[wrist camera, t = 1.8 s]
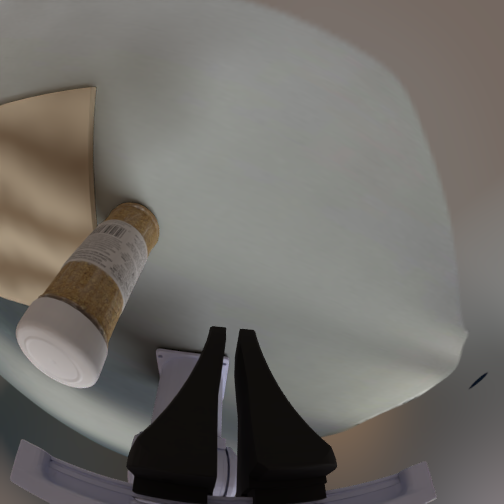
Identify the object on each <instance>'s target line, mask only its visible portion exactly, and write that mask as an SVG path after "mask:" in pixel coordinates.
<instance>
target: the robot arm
mask: <svg viewBox="0 0 504 504" xmlns="http://www.w3.org/2000/svg"><path fill="white" fill-rule="evenodd" d="M225 343H226V328H225V327H215V326H212V327H210V330H209V335H208V338H207V341H206V343H205V346H204V348H203V351H202V353H201V354H197V353H189V352H181V351H174V350H167V349H160V348H159V349H157V350H156V358H157V364H158V369H159V375H160V380H159V385H158V389H157V394H156V399H155V404H154V410H153V415H152V420H151V425H149V427H147V428H146V429H145V430H144V431H143V432H140V433H139V434H137V435H135V436H134V439H133V442H132V446H131V450H130V452H129V455H128V461H127V469H128V481H129V483H128V482H124V481H120V480H116V479H113V478H109V477H106V476H103V475H99V474H97V473H93V472H90V471H88V470H85V469H82V468H79V467H77V466H74V465H71V464H69V463H66V462H64V461H62V460H59V459H57V458H55V457H53V456H51V455H50V454H49V453H48V452H46V451H45V450H43V449H41V448H39V447H37V446H35V445H33V444H31V443H29V442H27V441H26V440H24V439H22V440H21V442H20V445H19V448H18V452H17V455H16V458H15V462H14V465H13V469H12V473H11V477H10V480H11V481H12V482H13V483H15V484H17V485H18V486H20V487H22V488H23V489H25V490H27V491H28V492H30V493H32V494H34V495H35V496H37V497H39V498H41V499H43V500H45V501H47V502H48V503H50V504H427V503H429V502H431V501H433V500H435V499H436V498H437V496H436V492H435V489H434V485H433V481H432V478H431V475H430V471H429V468H428V465H427V462H426V461H424V462H421V463H419V464H416V465H413V466H410V467H408V468H406V469H404V470H402V471H400V472H399V473H398V474H394V475H391V476H388V477H385V478H381V479H377V480H374V481H370V482H366V483H362V484H358V485H353V486H349V487H344V488H339V489H333V490H328V491H326V490H325V483H326V482H327V480H326V475H328V474H329V473H331V472H332V471H333V470H335V469H336V467H337V463H336V458H335V456H334V453H333V450H332V448H331V446H330V445H328V444H327V443H326V442H325V441H324V440H323V439H322V438H321V437H320V436H319V435H317V434H316V433H315V432H314V431H313V430H312V429H311V428H310V427H309V425H308V424H307V423H306V422H305V421H304V420H303V419H302V417H301V416H300V415H299V414H298V413H297V412H296V410H295V409H294V408H293V406H292V405H291V404H290V402H289V401H288V400H287V398H286V397H285V395H284V394H283V392H282V391H281V389H280V387H279V386H278V384H277V382H276V380H275V379H274V377H273V375H272V373H271V371H270V369H269V367H268V365H267V363H266V361H265V358H264V356H263V354H262V351H261V349H260V346H259V343H258V340H257V337H256V333H255V331H254V330H248V329H240V331H239V337H238V342H237V348H236V354H235V371H234V378H235V391H236V403H237V414H238V449H237V455H236V454H235V452H234V451H233V450H232V448H230V447H226V439H225V438H221V425H222V400H223V398H224V392H225V385H226V378H227V372H228V365H229V358H228V357H226V356H224V350H225ZM235 494H236V497H234V496H235Z"/></svg>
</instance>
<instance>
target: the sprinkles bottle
mask: <svg viewBox="0 0 504 504" xmlns="http://www.w3.org/2000/svg"><path fill="white" fill-rule="evenodd" d="M158 237H159V225H158V222H157V219H156V218H155V216H154V215H153V214H152V213H151V211H150V210H149V209H147V208H146V207H144V206H143V205H140V204H137V203H131V202H128V203H123V204H120V205H118V206H117V207H116V208H114V209H113V210H112V211H111V213H110V215H109V216H108V217H107V218H106V220H105V221H104V222H102V223H101V224H99V225H98V226H97V227H96V228H95V229H94V230H93V231H92V233H91V234H90V235H89V236H88V237H87V238H86V239H85V240H84V241H83V242H82V243H81V245H80V246H79V247H78V248H77V249H76V250H75V251H74V253H73V254H72V255H71V256H70V257H69V258H68V260H67V261H66V262H65V263H64V265H63V266H62V267H61V270H60V272H59V273H58V274H57V276H56V277H55V278H54V280H53V281H52V282H51V284H50V285H49V286H48V288H47V289H46V290H45V292H44V293H43V294H42V295H40V296H39V297H38V299H36V300H34V301H33V302H32V303H31V305H30V306H29V308H28V309H27V310H26V312H25V313H24V315H23V316H22V318H21V320H20V321H19V323H18V325H17V328H16V337H17V341H18V344H19V346H20V348H21V350H22V351H23V353H24V354H25V355H26V357H27V358H28V359H29V360H30V361H31V362H32V363H33V364H34V365H35V366H36V367H37V368H38V369H39V370H41V371H42V372H43V373H44V374H46V375H47V376H49V377H50V378H52V379H54V380H56V381H58V382H60V383H62V384H65V385H68V386H71V387H76V388H87V387H90V386H92V385H94V384H95V383H96V381H97V380H98V377H99V375H100V372H101V370H102V367H103V365H104V362H105V359H106V357H107V349H108V342H109V339H110V337H111V335H112V332H113V330H114V328H115V325H116V323H117V321H118V319H119V317H120V315H121V313H122V312H123V309H124V307H125V305H126V303H127V301H128V299H129V296H130V294H131V292H132V290H133V288H134V286H135V284H136V282H137V280H138V277H139V275H140V273H141V271H142V269H143V267H144V265H145V263H146V260H147V257H148V255H149V253H150V252H151V250H152V248H153V247H154V246H155V245H156V243H157V241H158Z"/></svg>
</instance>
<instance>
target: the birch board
mask: <svg viewBox="0 0 504 504" xmlns="http://www.w3.org/2000/svg"><path fill="white" fill-rule="evenodd" d="M95 96H96V87H87V88H79V89H72V90H66V91H60V92H54V93H49V94H44V95H39V96H34V97H30V98H26V99H22V100H18V101H14V102H10V103H7V104H3V105H0V297H3V298H6V299H9V300H12V301H15V302H18V303H22V304H25V305H28V306H30V305H31V303H32V302H33V301H34V300H36V299H38V297H39V296H40V295H42V294H43V293H44V292H45V290H46V289H47V288H48V286H49V285H50V284H51V282H52V281H53V280H54V278H55V277H56V276H57V274H58V273H59V272H60V270H61V267H62V266H63V265H64V263H65V262H66V261H67V260H68V258H69V257H70V256H71V255H72V254H73V253H74V251H75V250H76V249H77V248H78V247H79V246H80V245H81V243H82V242H83V241H84V240H85V239H86V238H87V237H88V236H89V235H90V234H91V233H92V231H93V230H94V229H95V228H96V227H97V219H96V208H95V194H94V173H93V130H94V109H95Z"/></svg>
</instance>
